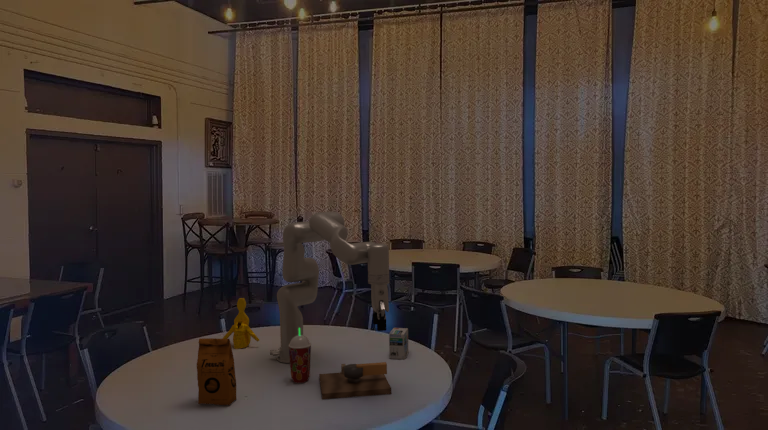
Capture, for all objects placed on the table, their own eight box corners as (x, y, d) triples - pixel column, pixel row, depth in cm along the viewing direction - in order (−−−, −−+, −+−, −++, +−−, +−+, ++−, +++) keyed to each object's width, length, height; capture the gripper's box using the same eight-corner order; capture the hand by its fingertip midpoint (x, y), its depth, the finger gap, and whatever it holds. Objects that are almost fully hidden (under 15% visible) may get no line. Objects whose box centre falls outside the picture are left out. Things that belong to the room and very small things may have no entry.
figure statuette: (219, 349, 247) (217, 301, 245) (224, 344, 254) (223, 297, 253) (258, 349, 246) (257, 300, 245) (262, 344, 254) (261, 297, 253)
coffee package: (229, 408, 180) (227, 342, 179) (193, 407, 182) (191, 341, 181) (241, 397, 190) (239, 334, 189) (207, 395, 192) (205, 333, 191)
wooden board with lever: (322, 399, 187) (321, 385, 187) (319, 378, 207) (319, 365, 207) (391, 393, 191) (391, 379, 190) (381, 373, 211) (381, 361, 211)
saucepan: (345, 379, 194) (344, 369, 194) (343, 372, 201) (343, 363, 201) (388, 376, 197) (387, 366, 197) (384, 369, 204) (384, 360, 204)
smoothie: (315, 377, 208) (314, 326, 207) (305, 385, 200) (304, 331, 199) (296, 375, 211) (294, 324, 210) (285, 383, 203) (283, 329, 202)
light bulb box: (404, 359, 228) (404, 334, 227) (389, 359, 229) (388, 333, 229) (408, 352, 238) (408, 327, 238) (393, 351, 240) (393, 327, 239)
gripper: (393, 282, 185) (394, 332, 186) (385, 274, 202) (385, 320, 203) (371, 283, 184) (372, 334, 185) (364, 275, 201) (365, 322, 202)
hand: (379, 327), depth 194 cm, fingers open, 8 cm apart
